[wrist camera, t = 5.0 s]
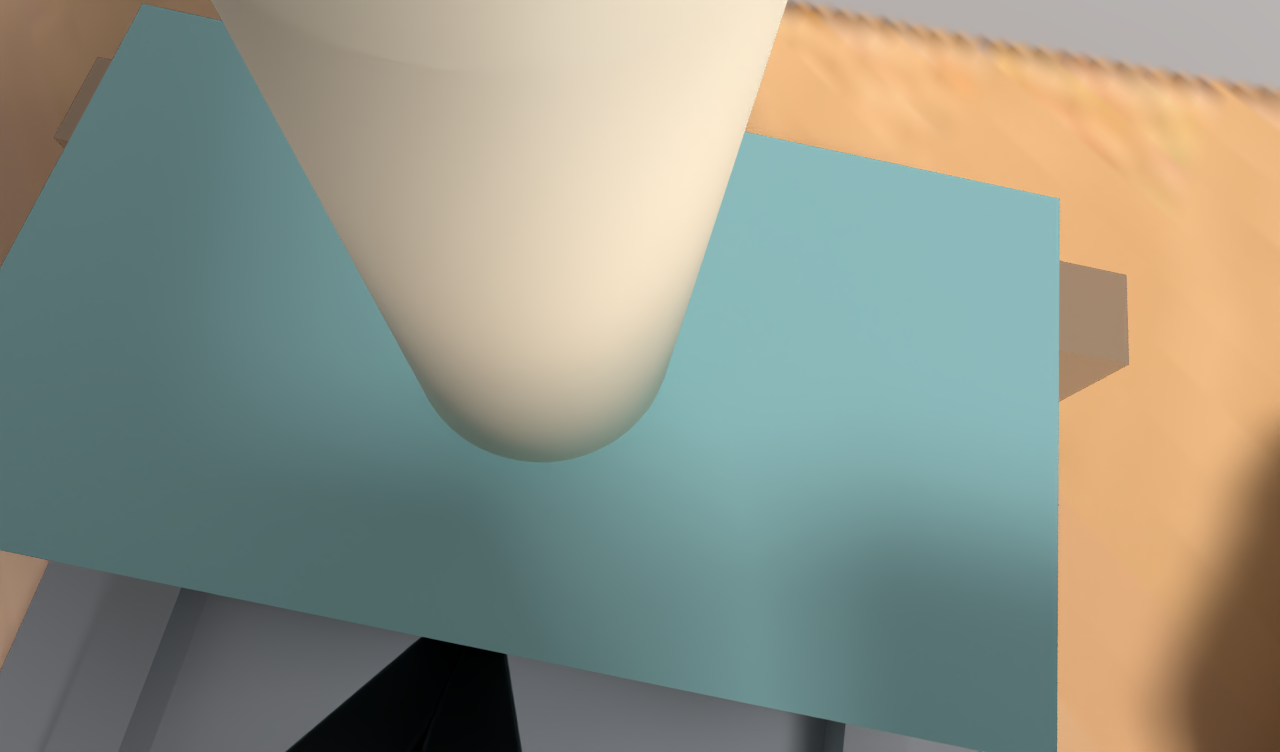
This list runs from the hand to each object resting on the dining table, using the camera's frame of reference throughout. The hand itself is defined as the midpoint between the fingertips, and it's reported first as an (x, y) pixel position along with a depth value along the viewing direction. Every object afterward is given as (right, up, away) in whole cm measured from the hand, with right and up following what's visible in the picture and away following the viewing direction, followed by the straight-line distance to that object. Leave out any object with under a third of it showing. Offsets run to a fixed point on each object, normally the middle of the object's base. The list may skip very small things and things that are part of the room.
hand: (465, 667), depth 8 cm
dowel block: (0, +1, +6) cm, 6 cm away
